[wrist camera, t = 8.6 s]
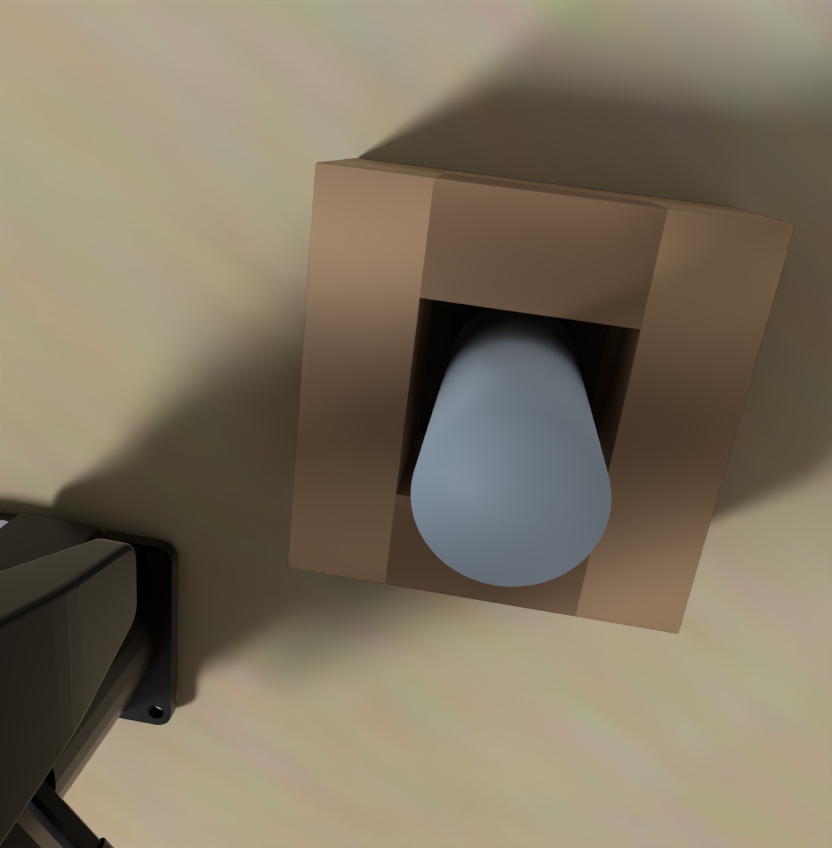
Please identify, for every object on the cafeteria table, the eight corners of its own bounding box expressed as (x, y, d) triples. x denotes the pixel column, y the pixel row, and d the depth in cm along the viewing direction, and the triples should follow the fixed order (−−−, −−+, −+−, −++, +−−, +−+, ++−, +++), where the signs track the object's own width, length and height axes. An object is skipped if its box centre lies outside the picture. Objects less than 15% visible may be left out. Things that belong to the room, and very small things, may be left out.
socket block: (649, 546, 21) (678, 633, 17) (327, 494, 22) (288, 567, 18) (737, 207, 18) (794, 226, 14) (355, 158, 19) (315, 162, 15)
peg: (563, 432, 20) (589, 600, 13) (442, 414, 21) (400, 569, 13) (587, 312, 19) (630, 422, 12) (459, 294, 19) (423, 391, 12)
